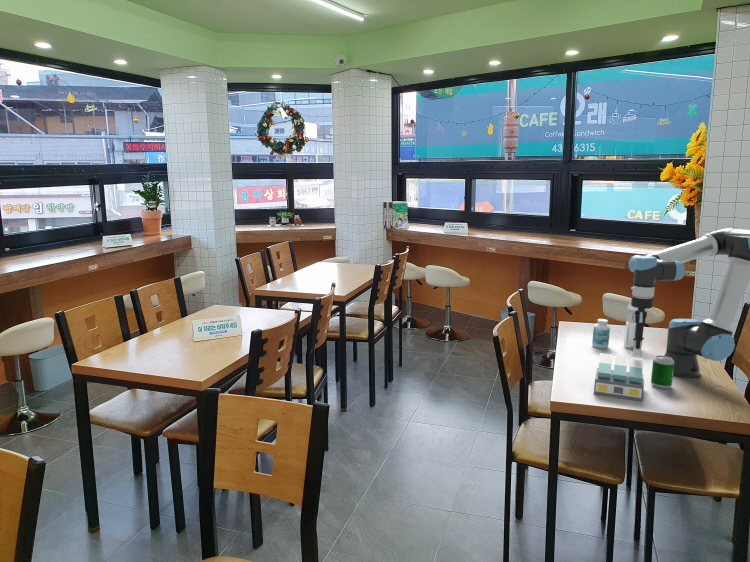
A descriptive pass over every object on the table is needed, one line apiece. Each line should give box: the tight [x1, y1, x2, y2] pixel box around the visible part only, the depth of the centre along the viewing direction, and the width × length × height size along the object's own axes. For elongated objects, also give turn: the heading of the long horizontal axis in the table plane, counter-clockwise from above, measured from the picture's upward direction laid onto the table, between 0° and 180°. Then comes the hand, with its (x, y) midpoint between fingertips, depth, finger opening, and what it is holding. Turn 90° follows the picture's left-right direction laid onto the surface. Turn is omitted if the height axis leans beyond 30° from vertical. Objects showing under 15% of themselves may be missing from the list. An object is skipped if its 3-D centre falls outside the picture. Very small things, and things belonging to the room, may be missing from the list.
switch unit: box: [593, 367, 645, 402], centre depth 221 cm, size 17×14×8 cm
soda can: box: [650, 355, 674, 390], centre depth 227 cm, size 8×8×12 cm
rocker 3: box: [628, 356, 644, 383], centre depth 218 cm, size 4×12×2 cm, turn 156°
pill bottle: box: [591, 318, 611, 349], centre depth 279 cm, size 8×7×14 cm
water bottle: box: [623, 301, 638, 350], centre depth 277 cm, size 7×7×25 cm
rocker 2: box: [613, 354, 628, 381], centre depth 221 cm, size 4×12×2 cm, turn 156°
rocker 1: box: [597, 352, 613, 379], centre depth 223 cm, size 4×12×2 cm, turn 156°
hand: (636, 356), depth 222 cm, fingers closed
